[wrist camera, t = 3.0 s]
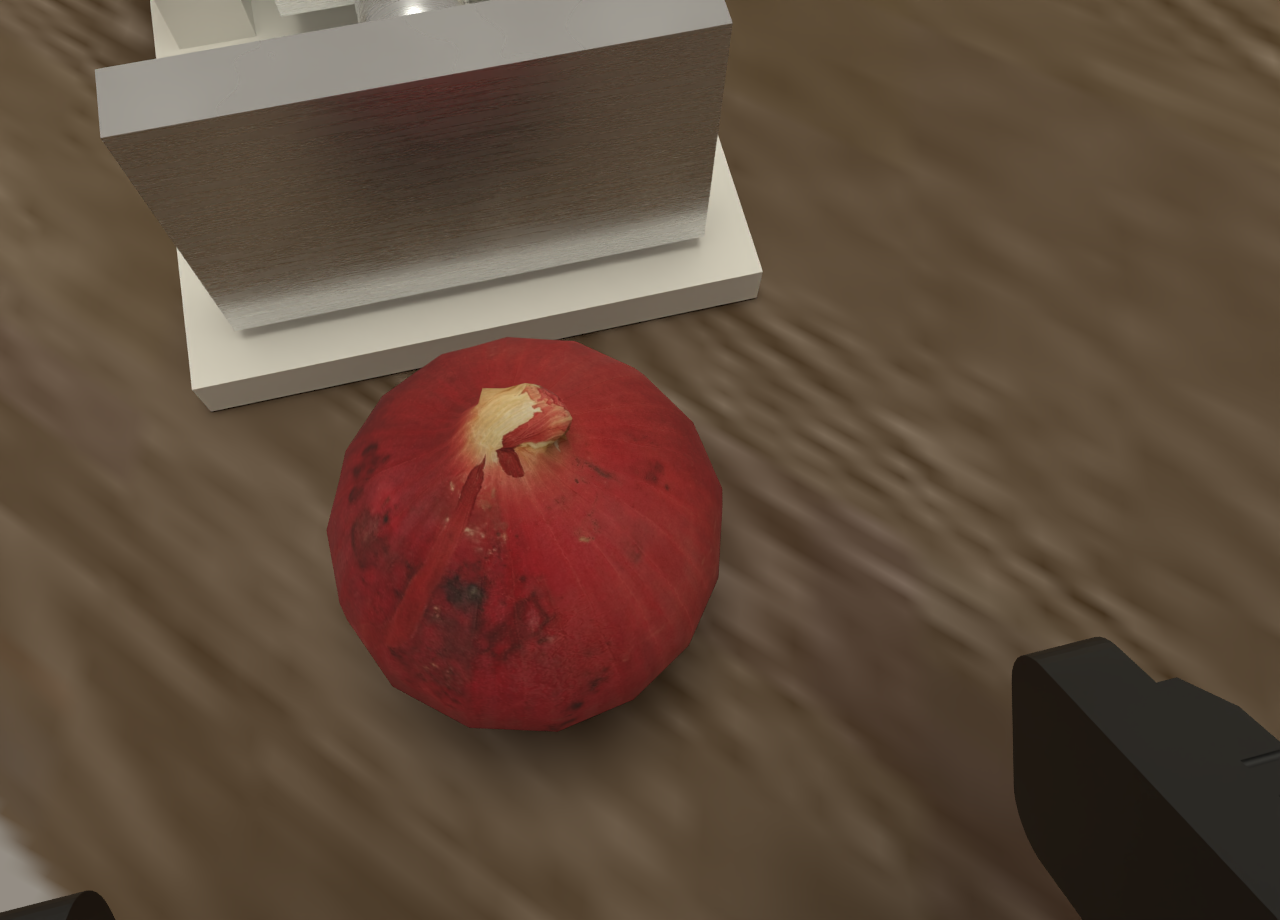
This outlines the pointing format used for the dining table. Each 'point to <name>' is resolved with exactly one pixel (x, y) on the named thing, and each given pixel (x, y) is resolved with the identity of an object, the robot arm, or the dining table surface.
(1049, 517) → the dining table surface
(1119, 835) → the robot arm
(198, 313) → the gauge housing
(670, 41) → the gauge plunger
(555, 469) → the red pomegranate
